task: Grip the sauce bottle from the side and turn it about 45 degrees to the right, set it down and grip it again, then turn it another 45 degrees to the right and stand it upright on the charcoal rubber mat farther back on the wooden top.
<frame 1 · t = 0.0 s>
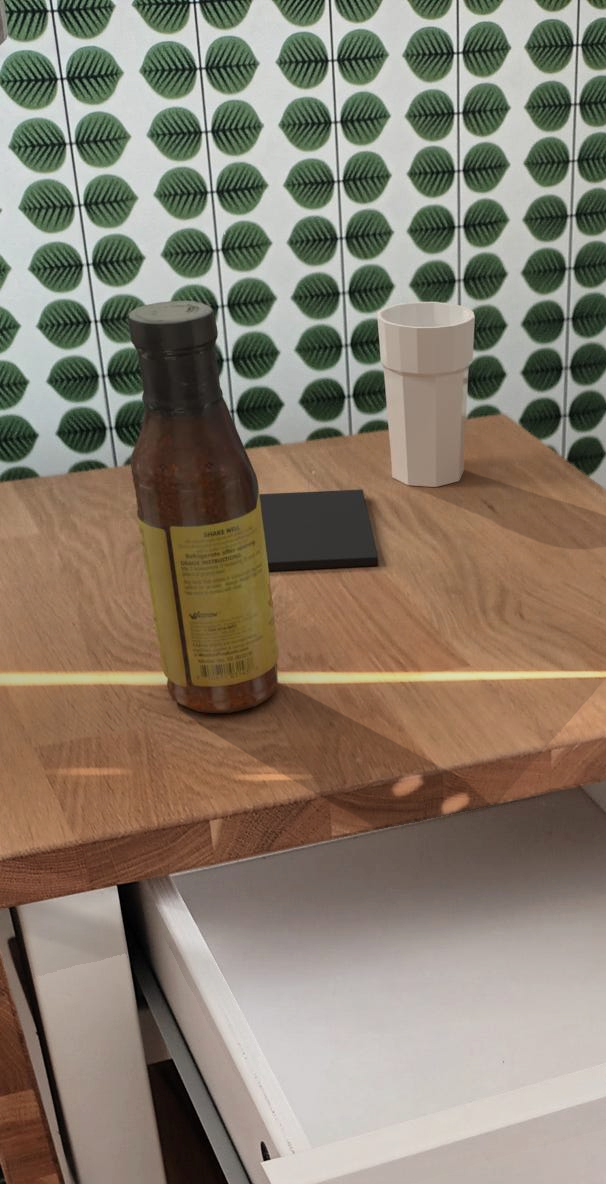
mat: (264, 535, 102), on the table
cup: (428, 476, 112), on the table
sauce bottle: (221, 695, 85), on the table
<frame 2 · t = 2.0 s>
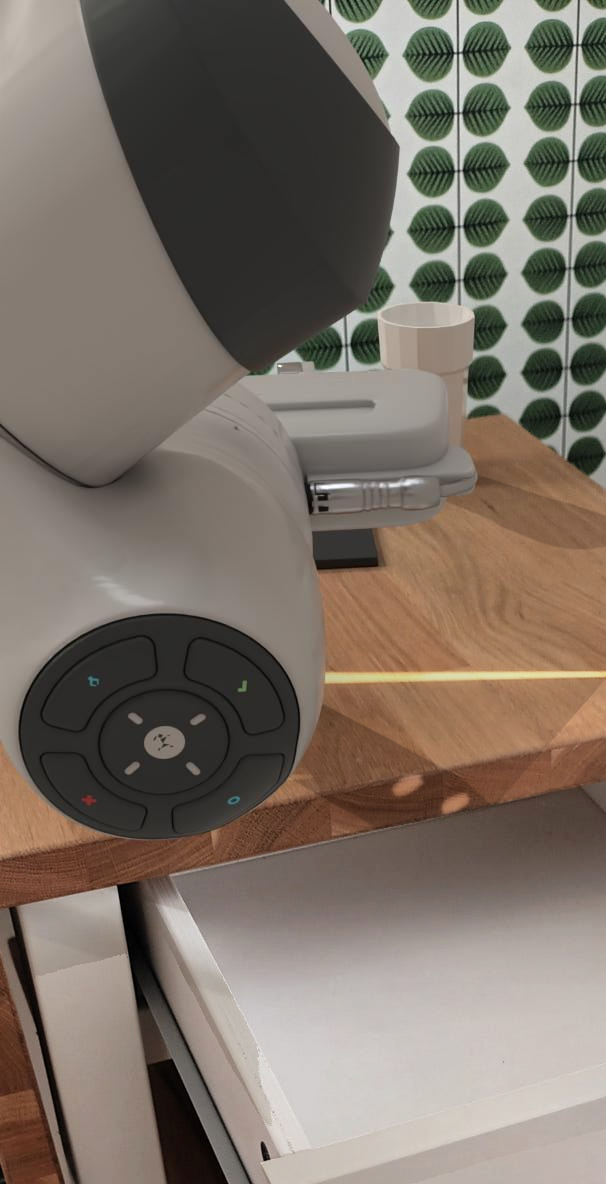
hand: (178, 386, 62), 20 cm above the table, tool horizontal, fingers open, 8 cm apart
nothing on the table moved.
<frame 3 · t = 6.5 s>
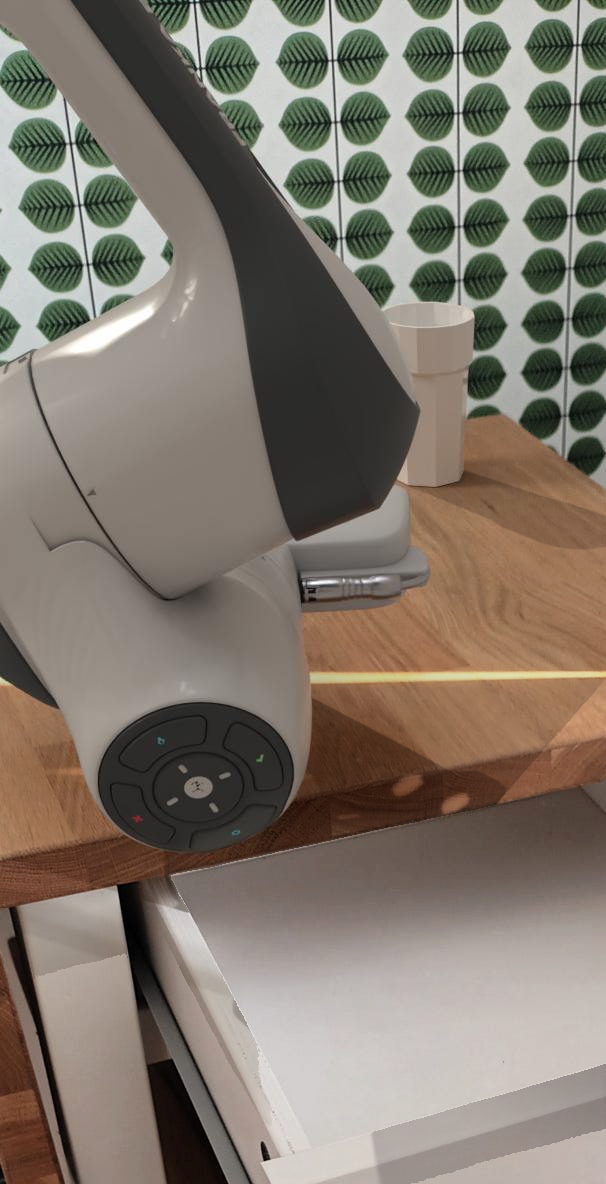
hand: (199, 488, 79), 11 cm above the table, tool horizontal, fingers closed on sauce bottle, 6 cm apart
sauce bottle: (221, 694, 85), on the table, touching gripper
everything else where it was.
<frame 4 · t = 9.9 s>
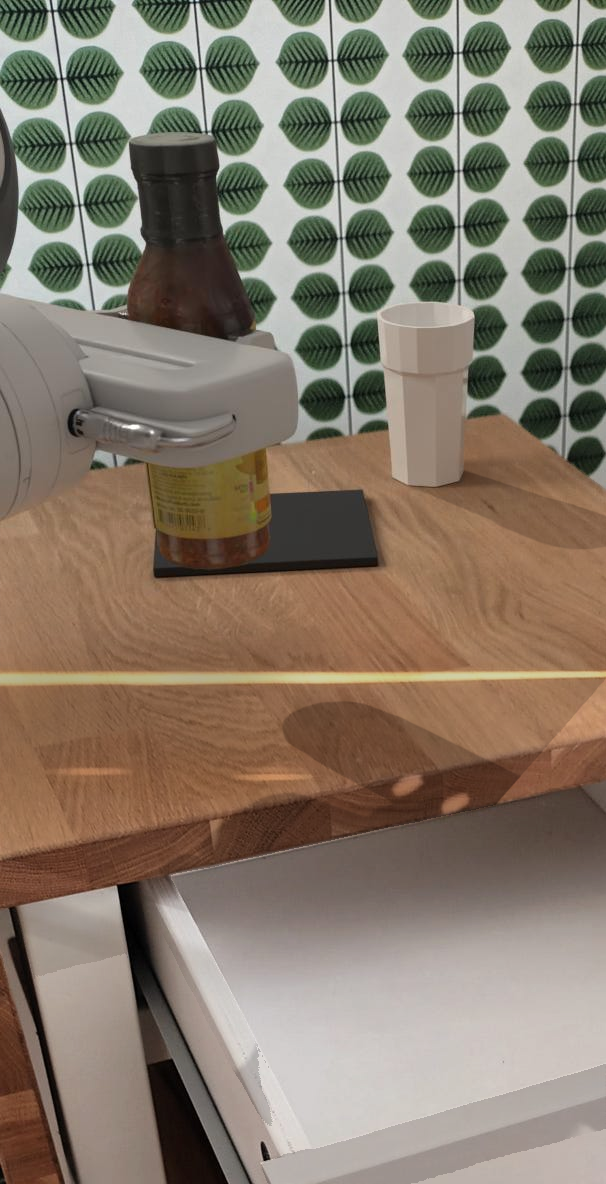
hand: (203, 334, 77), 18 cm above the table, tool horizontal, fingers closed on sauce bottle, 6 cm apart
sauce bottle: (214, 554, 83), point 7 cm above the table, touching gripper
everything else where it was.
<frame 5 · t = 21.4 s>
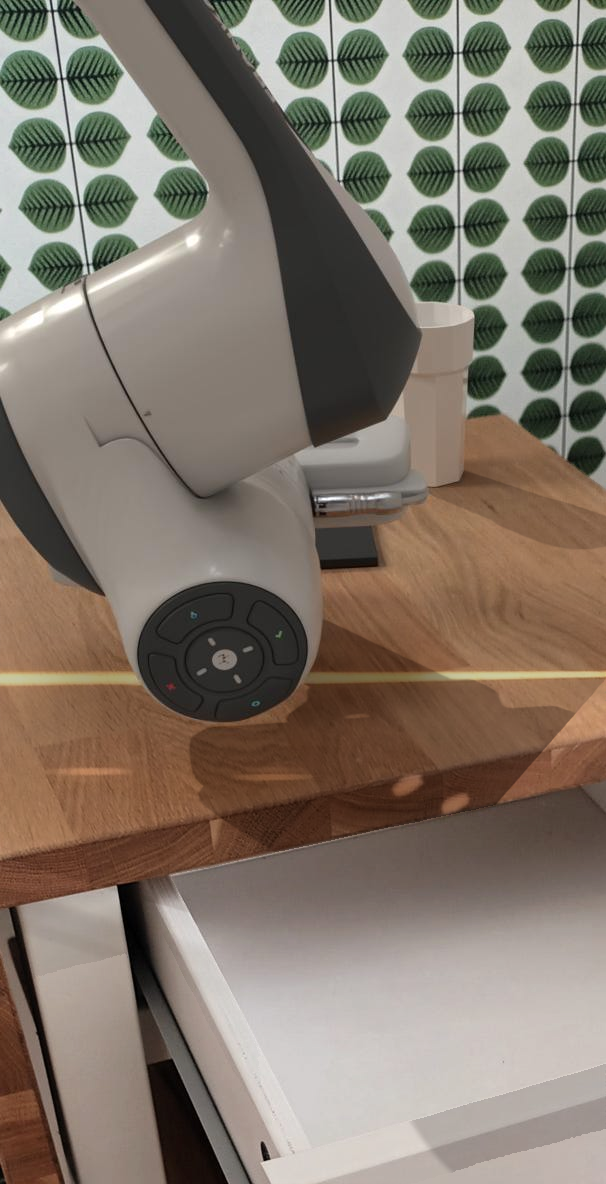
hand: (219, 422, 87), 11 cm above the table, tool horizontal, fingers closed on sauce bottle, 6 cm apart
sauce bottle: (241, 615, 93), on the table, touching gripper
everything else where it was.
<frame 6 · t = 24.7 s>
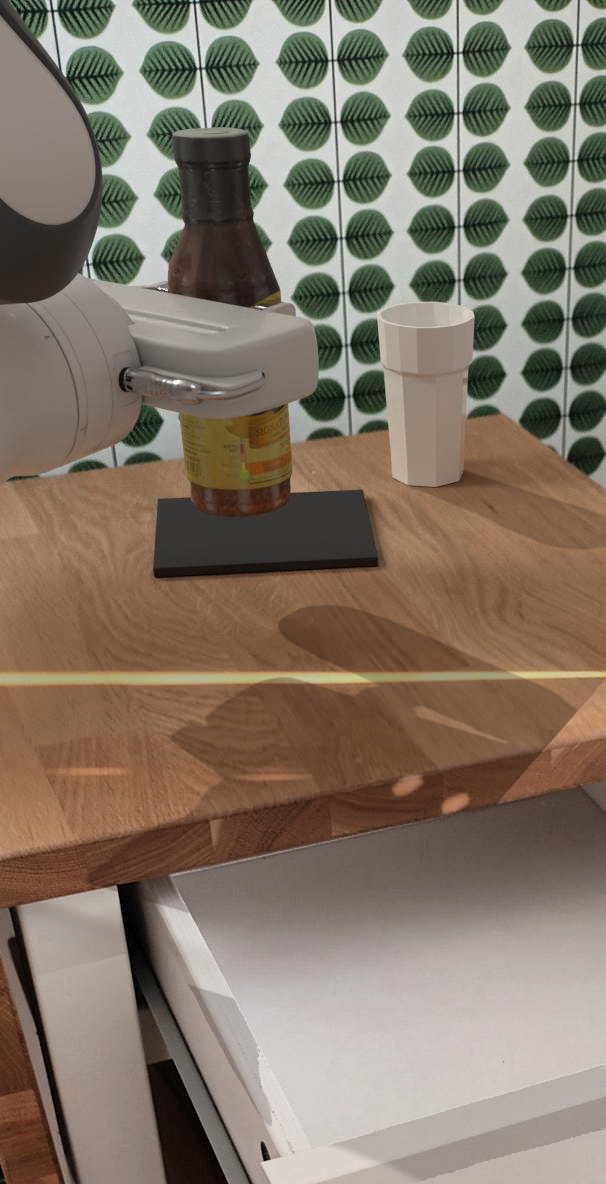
hand: (231, 306, 87), 16 cm above the table, tool horizontal, fingers closed on sauce bottle, 6 cm apart
sauce bottle: (243, 506, 93), point 5 cm above the table, touching gripper
everything else where it was.
when the fingers open (12 cm above the table, at t = 28.0 s): sauce bottle stays where it is, resting on mat.
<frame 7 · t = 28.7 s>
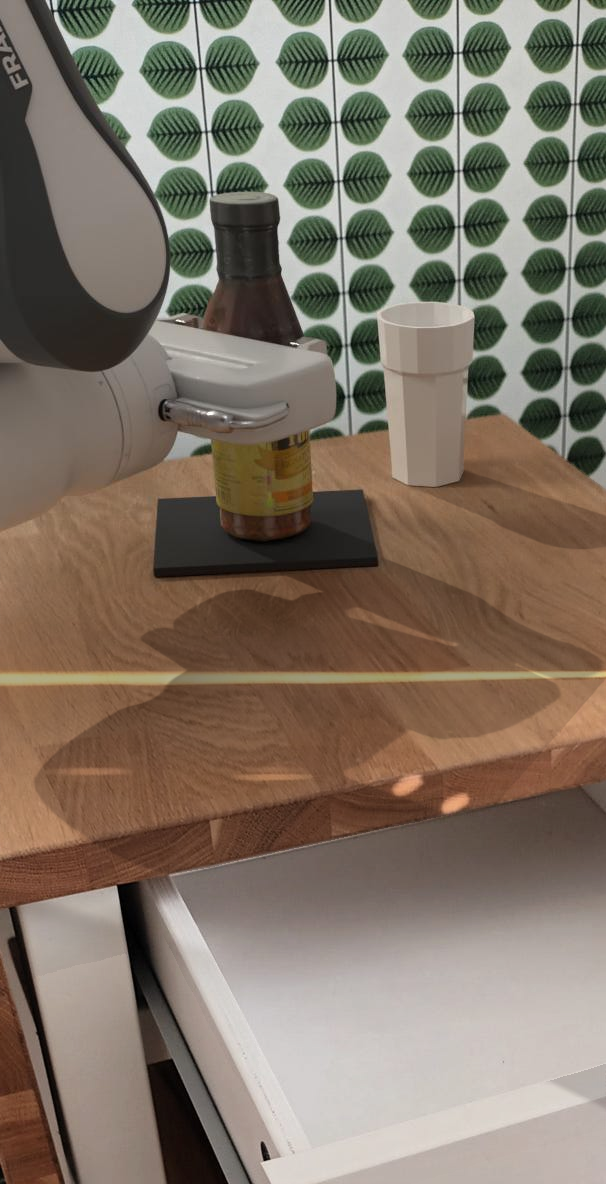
hand: (255, 339, 96), 12 cm above the table, tool horizontal, fingers open, 8 cm apart
sauce bottle: (268, 529, 102), resting on mat
everything else where it was.
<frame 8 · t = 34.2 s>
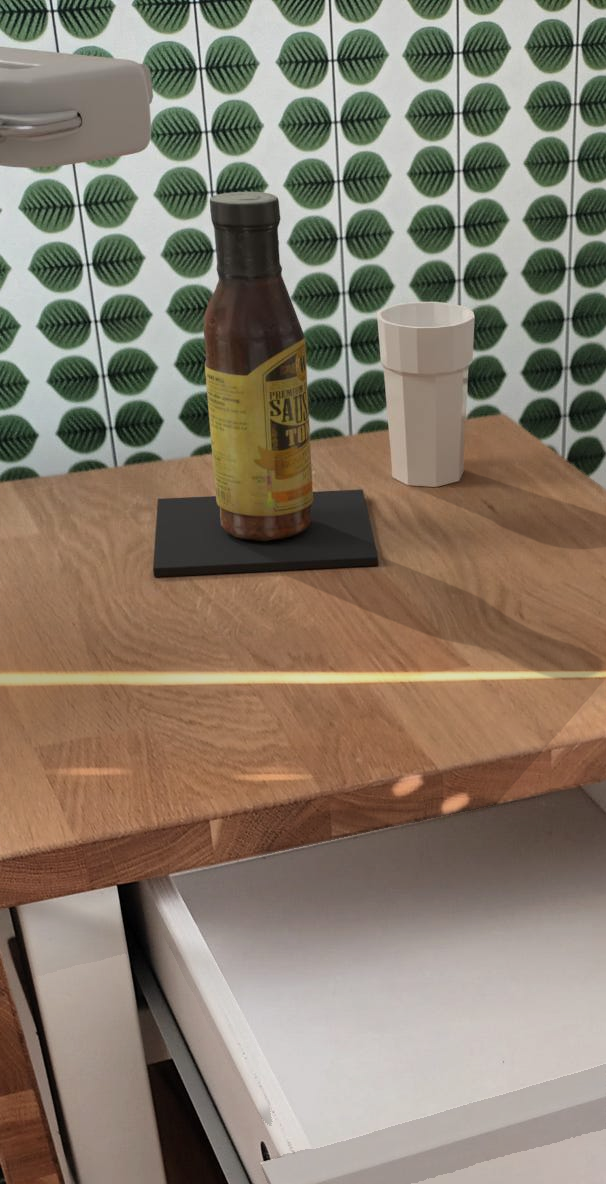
hand: (69, 74, 78), 28 cm above the table, tool horizontal, fingers open, 8 cm apart
nothing on the table moved.
at the end: sauce bottle inside the target area on the mat (0.3 cm from its centre), point 0.4 cm above the mat's base; sauce bottle tilted 0°; the gripper is holding nothing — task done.
